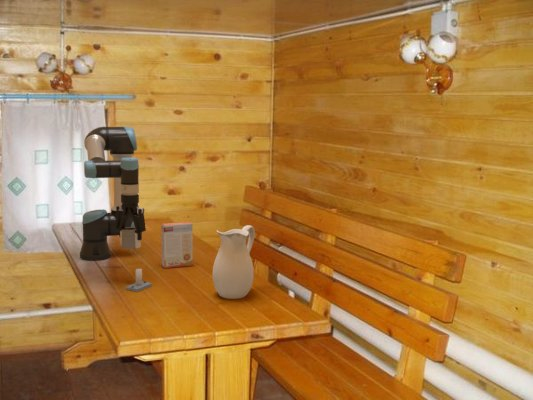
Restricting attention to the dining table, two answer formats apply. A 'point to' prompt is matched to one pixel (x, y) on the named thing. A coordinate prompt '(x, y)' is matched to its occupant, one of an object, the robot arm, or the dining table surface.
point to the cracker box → (177, 244)
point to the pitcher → (234, 263)
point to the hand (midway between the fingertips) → (130, 246)
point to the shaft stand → (138, 282)
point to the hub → (128, 237)
